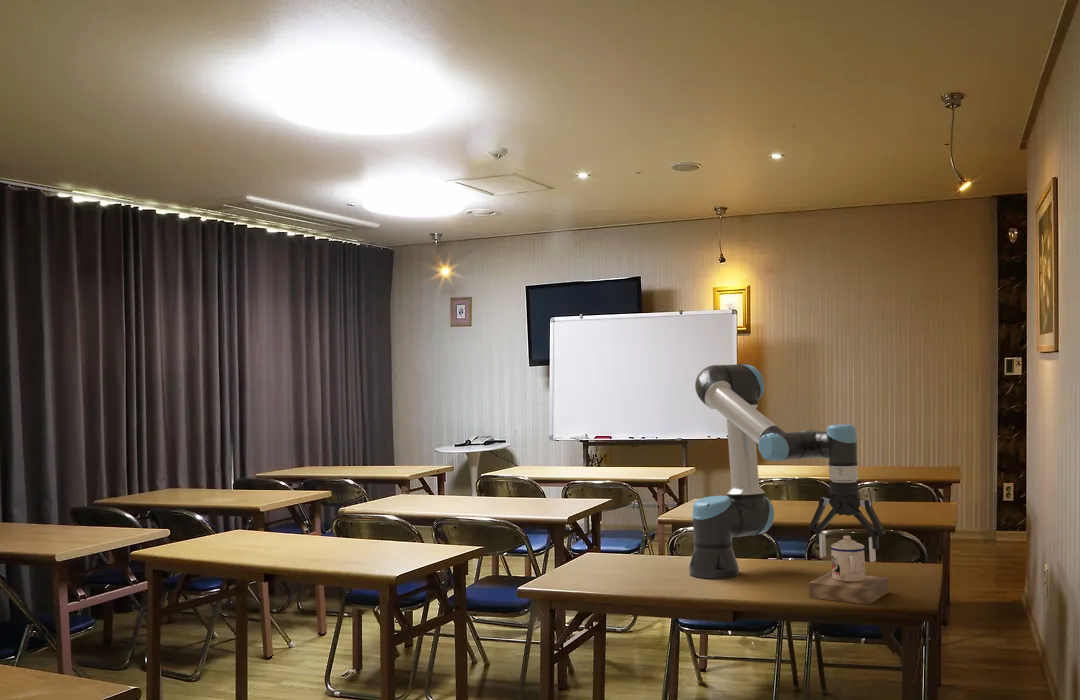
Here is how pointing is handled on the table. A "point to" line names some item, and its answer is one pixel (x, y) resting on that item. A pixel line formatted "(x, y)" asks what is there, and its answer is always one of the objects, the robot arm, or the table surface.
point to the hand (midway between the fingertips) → (847, 559)
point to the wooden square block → (849, 589)
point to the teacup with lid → (848, 560)
